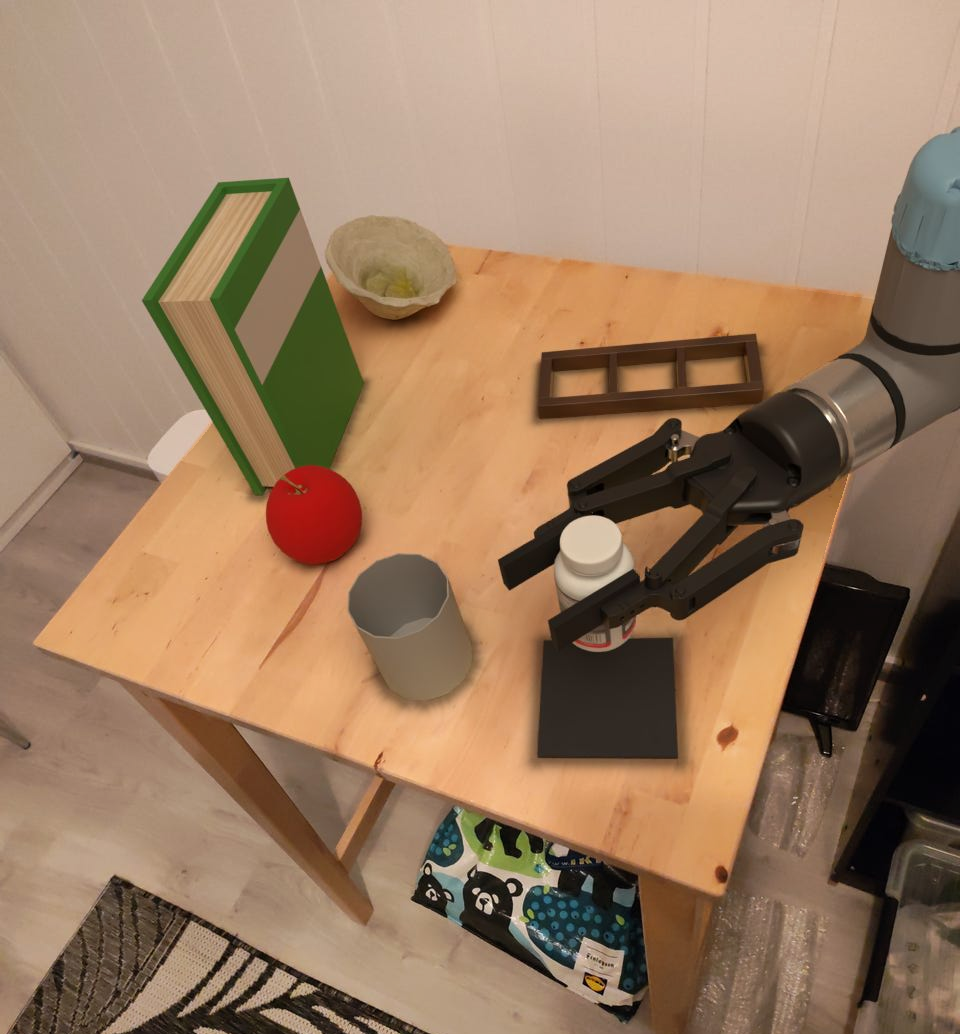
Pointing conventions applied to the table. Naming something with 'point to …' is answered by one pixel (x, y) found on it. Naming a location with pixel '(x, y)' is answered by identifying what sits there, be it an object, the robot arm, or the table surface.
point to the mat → (609, 701)
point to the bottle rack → (651, 398)
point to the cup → (411, 625)
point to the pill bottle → (592, 573)
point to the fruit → (313, 514)
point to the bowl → (390, 264)
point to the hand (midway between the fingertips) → (528, 604)
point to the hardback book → (258, 330)
